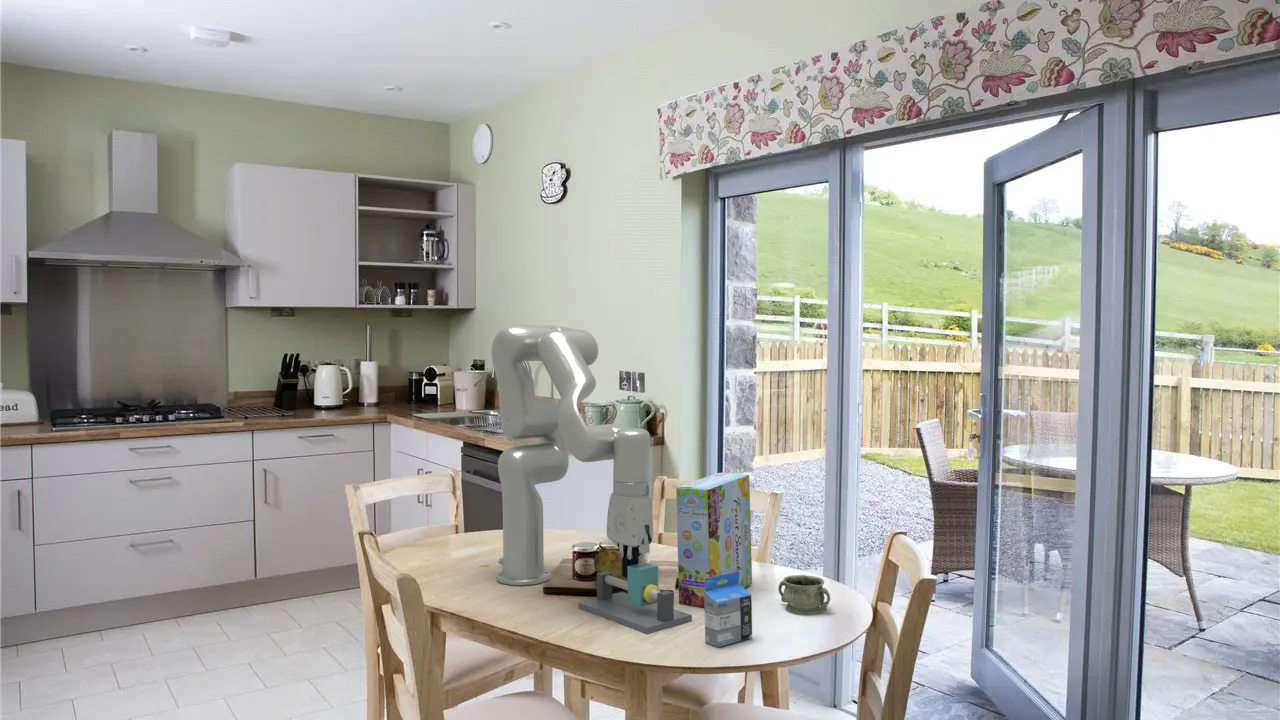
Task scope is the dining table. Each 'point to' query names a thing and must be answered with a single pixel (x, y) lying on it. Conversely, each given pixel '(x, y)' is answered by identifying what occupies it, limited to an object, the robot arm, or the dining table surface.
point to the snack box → (713, 533)
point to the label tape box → (727, 610)
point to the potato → (609, 563)
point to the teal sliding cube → (640, 582)
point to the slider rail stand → (634, 606)
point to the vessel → (804, 594)
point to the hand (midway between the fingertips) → (629, 576)
